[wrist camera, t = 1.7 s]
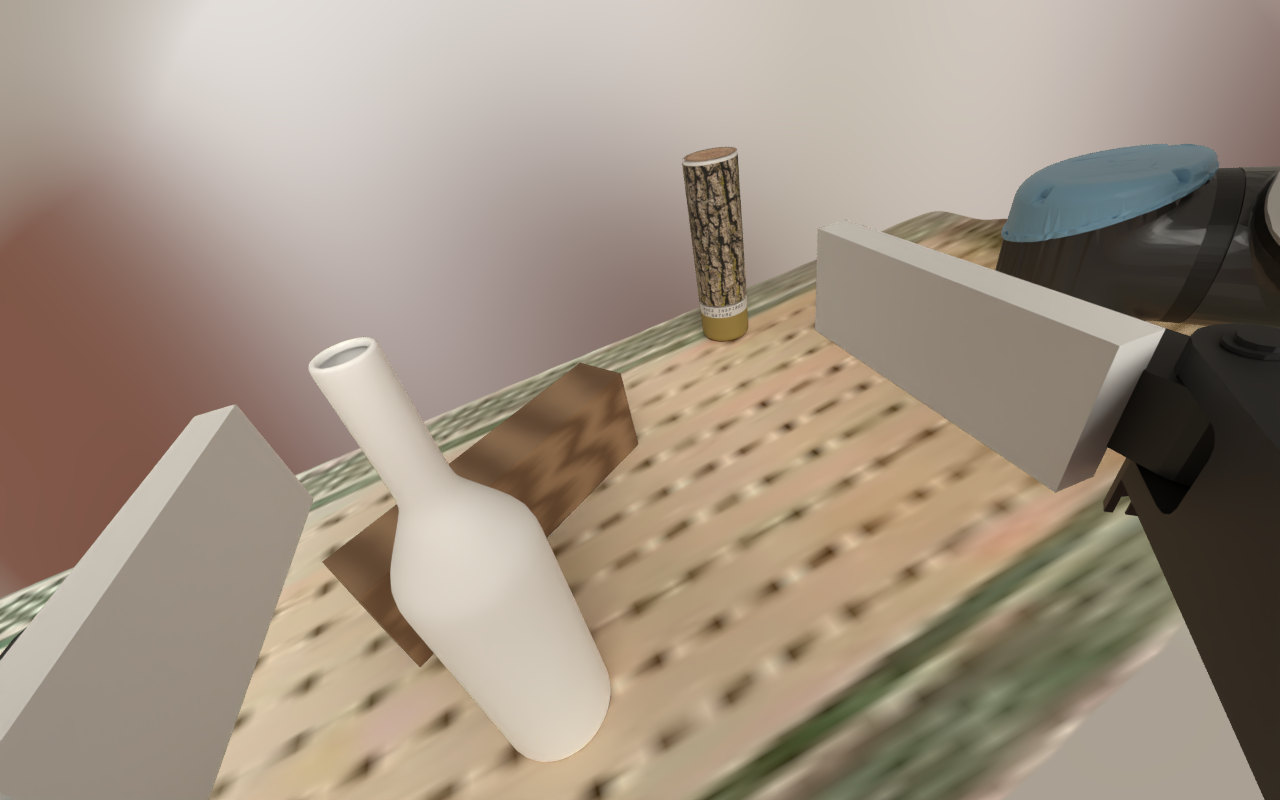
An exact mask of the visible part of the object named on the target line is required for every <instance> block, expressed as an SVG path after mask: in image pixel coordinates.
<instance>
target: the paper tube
mask: <svg viewBox="0 0 1280 800" xmlns="http://www.w3.org/2000/svg"><path fill="white" fill-rule="evenodd" d="M682 160H683V163H682V165H683V173H684V181H685V189H686V197H687V205H688V212H689V221H690V229H691V237H692V245H693V253H694V262H695V269H696V276H697V277H696V278H697V286H698V293H699V302H700V310H701V316H702V324H703V331H704V334H705V335H706V336H707V337H708V338H710V339H712V340H715V341H730V340H734V339H737V338H739V337H741V336H742V335H744V334H745V332H746V331H747V329H748V313H747V295H746V279H745V264H744V247H743V232H742V217H741V200H740V185H739V169H738V154H737V149H736V148H734V147H718V148H712V149H706V150H701V151H697V152H694V153H691V154H689V155H686V156H685V157H683V158H682Z"/></svg>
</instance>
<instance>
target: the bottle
mask: <svg viewBox="0 0 1280 800" xmlns="http://www.w3.org/2000/svg"><path fill="white" fill-rule="evenodd" d="M308 369H309V372H310V374H311V376H312V378H313V379H314V381H315V382H316V384H317V385H318V386H319V388H320V389H321V391H322V392H323V394H324V395H325V397H326V398H327V400H328V401H329V402H330V404H331V405H332V407H333V408H334V410H335V411H336V413H337V414H338V416H339V417H340V418H341V420H342V421H343V423H344V424H345V426H346V427H347V429H348V430H349V432H350V433H351V434H352V436H353V437H354V439H355V440H356V442H357V443H358V445H359V446H360V448H361V449H362V451H363V452H364V454H365V455H366V456H367V458H368V459H369V461H370V462H371V464H372V465H373V467H374V468H375V470H376V471H377V473H378V474H379V476H380V477H381V479H382V480H383V482H384V483H385V485H386V486H387V488H388V489H389V491H390V493H391V494H392V496H393V498H394V499H395V501H396V503H397V505H398V508H399V515H398V523H397V529H396V535H395V541H394V547H393V553H392V560H391V570H390V579H391V592H392V595H393V597H394V600H395V602H396V605H397V607H398V609H399V611H400V613H401V614H402V615H403V617H404V618H405V619H406V621H407V622H408V623H409V624H410V625H411V627H412V628H413V629H414V630H415V631H416V633H417V634H418V635H419V636H420V637H421V638H422V640H423V641H424V642H425V643H426V644H427V646H428V647H429V648H430V649H431V650H432V651H433V653H434V654H435V655H436V656H437V657H438V658H439V660H440V661H441V662H442V663H443V664H444V666H445V667H446V668H447V669H448V670H449V671H450V673H451V674H452V675H453V676H454V677H455V679H456V680H457V681H458V682H459V683H460V684H461V686H462V687H463V688H464V689H465V690H466V691H467V693H468V694H469V695H470V696H471V697H472V699H473V700H474V701H475V702H476V703H477V704H478V706H479V707H480V708H481V709H482V710H483V711H484V713H485V714H486V715H487V716H488V717H489V719H490V720H491V721H492V722H493V723H494V724H495V726H496V727H497V728H498V729H499V730H500V732H501V733H502V734H503V735H504V736H505V737H506V739H507V740H508V741H509V742H510V743H511V744H512V745H513V747H514V748H515V749H516V750H517V751H518V752H519V753H521V754H522V755H524V756H525V757H527V758H529V759H532V760H535V761H540V762H552V761H558V760H562V759H564V758H567V757H569V756H571V755H573V754H574V753H576V752H578V751H579V750H581V749H582V748H583V747H584V746H585V745H586V744H587V743H588V742H590V741H591V739H592V738H593V737H594V735H595V734H596V733H597V731H598V730H599V728H600V726H601V724H602V723H603V721H604V719H605V716H606V713H607V710H608V707H609V701H610V695H611V690H610V679H609V675H608V671H607V669H606V666H605V664H604V662H603V660H602V657H601V655H600V653H599V651H598V649H597V646H596V644H595V642H594V640H593V638H592V636H591V633H590V631H589V629H588V627H587V625H586V623H585V620H584V618H583V616H582V614H581V612H580V610H579V607H578V605H577V603H576V601H575V599H574V597H573V594H572V592H571V590H570V588H569V586H568V584H567V581H566V579H565V577H564V575H563V573H562V571H561V568H560V566H559V564H558V562H557V560H556V558H555V555H554V553H553V551H552V549H551V547H550V545H549V542H548V540H547V538H546V536H545V534H544V532H543V529H542V527H541V526H540V524H539V522H538V520H537V518H536V517H535V516H534V514H533V513H532V512H531V511H530V510H529V508H528V507H527V506H526V505H525V504H524V503H522V502H521V501H519V500H518V499H516V498H514V497H513V496H511V495H508V494H506V493H504V492H501V491H499V490H496V489H493V488H490V487H488V486H485V485H482V484H479V483H476V482H473V481H470V480H467V479H465V478H462V477H460V476H458V475H457V474H455V472H454V471H453V470H452V469H451V468H450V466H449V464H448V463H447V461H446V460H445V458H444V456H443V455H442V453H441V451H440V450H439V448H438V446H437V445H436V443H435V441H434V440H433V438H432V436H431V434H430V433H429V431H428V429H427V427H426V426H425V424H424V422H423V421H422V419H421V417H420V415H419V414H418V412H417V411H416V408H415V407H414V405H413V403H412V401H411V400H410V398H409V396H408V394H407V393H406V391H405V389H404V387H403V386H402V384H401V382H400V380H399V378H398V377H397V375H396V374H395V371H394V370H393V368H392V366H391V364H390V363H389V361H388V359H387V357H386V356H385V354H384V352H383V350H382V349H381V347H380V346H379V344H378V343H377V341H376V340H374V339H372V338H368V337H361V338H355V339H350V340H347V341H343V342H341V343H338V344H336V345H333V346H331V347H329V348H327V349H326V350H324V351H322V352H321V353H319V354H318V355H317V356H316V357H314V358H313V359H312V360H311V362H310V363H309V367H308Z"/></svg>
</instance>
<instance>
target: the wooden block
mask: <svg viewBox="0 0 1280 800" xmlns="http://www.w3.org/2000/svg"><path fill="white" fill-rule="evenodd" d="M637 445H638V441H637V437H636V433H635V429H634V425H633V421H632V417H631V413H630V409H629V405H628V401H627V397H626V393H625V389H624V385H623V381H622V377H621V374H620V373H616V372H613V371H609V370H605V369H602V368H598V367H594V366H590V365H587V364H583V363H579V364H578V365H577V366H575V367H574V368H573V369H571V370H570V371H569V372H567V373H566V374H565V375H564V376H562V377H561V378H560V379H558V380H557V381H556V382H555V383H553V384H552V385H551V386H549V387H548V388H547V389H545V390H544V391H543V392H542V393H540V394H539V395H538V396H536V397H535V398H534V399H533V400H531V401H530V402H529V403H527V404H526V405H525V406H523V407H522V408H521V409H520V410H518V411H517V412H516V413H514V414H513V415H512V416H511V417H509V418H508V419H507V420H505V421H504V422H503V423H501V424H500V425H499V426H498V427H496V428H495V429H494V430H492V431H491V432H490V433H489V434H487V435H486V436H485V437H483V438H482V439H481V440H479V441H478V442H477V443H476V444H474V445H473V446H472V447H470V448H469V449H468V450H467V451H465V452H464V453H463V454H461V455H460V456H459V457H457V458H456V459H455V460H454V461H452V462H451V463H450V464H449V466H450V468H451V469H452V470H453V471H454V472H455V474H457V475H458V476H460V477H462V478H465V479H467V480H470V481H473V482H476V483H479V484H482V485H485V486H488V487H490V488H493V489H496V490H499V491H501V492H504V493H506V494H508V495H511V496H513V497H514V498H516V499H518V500H519V501H521V502H522V503H524V504H525V505H526V506H527V507H528V508H529V510H530V511H531V512H532V513H533V514H534V516H535V517H536V518H537V520H538V522H539V524H540V526H541V527H542V529H543V532H544V534H545V536H546V538H547V537H548V536H549V535H550V534H551V533H552V532H553V531H554V530H555V529H556V528H557V527H558V526H559V525H560V524H561V523H562V522H563V521H564V520H565V518H566V517H567V516H568V515H569V514H570V513H571V512H572V511H573V510H574V509H575V508H576V507H577V506H578V505H579V504H580V503H581V502H582V501H583V500H584V499H585V498H586V497H587V496H588V495H589V494H590V493H591V492H592V491H593V490H594V489H595V488H596V487H597V486H598V485H599V484H600V483H601V482H602V481H603V480H604V479H605V478H606V477H607V476H608V475H609V473H610V472H611V471H612V470H613V469H614V468H615V467H616V466H617V465H618V464H619V463H620V462H621V461H622V460H623V459H624V458H625V457H626V456H627V455H628V454H629V453H630V452H631V451H632V450H633V449H634V448H635V447H636V446H637ZM398 515H399V508H398V505H395V506H394V507H393V508H391V509H390V510H389V511H388V512H386V513H385V514H384V515H382V516H381V517H380V518H379V519H377V520H376V521H375V522H373V523H372V524H371V525H369V526H368V527H367V528H366V529H364V530H363V531H362V532H360V533H359V534H358V535H357V536H355V537H354V538H353V539H351V540H350V541H349V542H347V543H346V544H345V545H344V546H342V547H341V548H340V549H338V550H337V551H336V552H335V553H333V554H332V555H331V556H329V557H328V558H327V559H325V560H324V561H323V563H324V564H325V566H326V567H327V568H328V569H329V570H330V571H331V572H332V573H333V574H334V575H335V576H336V578H337V579H338V580H339V581H340V582H341V583H342V584H343V585H344V586H345V587H346V588H347V590H348V591H349V592H350V593H351V594H352V595H353V596H354V597H355V598H356V599H357V601H358V602H359V603H360V604H361V605H362V606H363V607H364V608H365V609H366V610H367V611H368V613H369V614H370V615H371V616H372V617H373V618H374V619H375V620H376V621H377V622H378V623H379V625H380V626H381V627H382V628H383V629H384V630H385V631H386V632H387V633H388V634H389V635H390V636H391V637H392V638H393V639H394V640H395V641H396V642H397V644H398V645H399V646H400V647H401V648H402V649H403V650H404V651H405V652H406V653H407V654H408V655H409V656H410V657H411V658H412V659H413V660H414V661H415V662H416V663H417V664H418V665H419V666H420V667H421V666H422V665H423V664H424V663H425V662H426V661H427V660H428V659H429V658H430V657H431V656H432V655H433V654H434V653H433V651H432V650H431V649H430V648H429V647H428V646H427V644H426V643H425V642H424V641H423V640H422V638H421V637H420V636H419V635H418V634H417V633H416V631H415V630H414V629H413V628H412V627H411V625H410V624H409V623H408V622H407V621H406V619H405V618H404V617H403V615H402V614H401V613H400V611H399V609H398V607H397V605H396V602H395V600H394V597H393V595H392V592H391V579H390V570H391V560H392V553H393V547H394V541H395V535H396V529H397V523H398Z"/></svg>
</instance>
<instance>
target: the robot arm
mask: <svg viewBox="0 0 1280 800" xmlns="http://www.w3.org/2000/svg"><path fill="white" fill-rule="evenodd" d="M1001 236H1002V237H1003V242H1002V246H1001V250H1000V254H999V258H998V262H997V266H996V269H995V270H992V269H989V268H986V267H983V266H980V265H977V264H975V263H972V262H969V261H966V260H963V259H960V258H957V257H954V256H951V255H948V254H945V253H942V252H939V251H936V250H933V249H930V248H927V247H924V246H922V245H919V244H916V243H913V242H910V241H907V240H904V239H901V238H898V237H895V236H892V235H889V234H886V233H883V232H880V231H877V230H874V229H871V228H868V227H865V226H863V225H859V224H857V223H853V222H851V221H848V220H844V221H841V222H837V223H834V224H831V225H827V226H824V227H821V228H818V241H817V243H818V245H817V279H816V317H815V330H816V331H817V332H819V333H820V334H822V335H823V336H825V337H826V338H828V339H829V340H831V341H832V342H834V343H835V344H836V345H838V346H839V347H841V348H842V349H844V350H845V351H847V352H848V353H850V354H851V355H853V356H854V357H856V358H857V359H859V360H860V361H862V362H863V363H865V364H866V365H868V366H869V367H871V368H872V369H873V370H875V371H876V372H878V373H879V374H881V375H882V376H884V377H885V378H887V379H888V380H890V381H891V382H893V383H894V384H896V385H897V386H899V387H900V388H902V389H903V390H905V391H906V392H907V393H909V394H910V395H912V396H913V397H915V398H916V399H918V400H919V401H921V402H922V403H924V404H925V405H927V406H928V407H930V408H931V409H933V410H934V411H936V412H937V413H939V414H940V415H942V416H943V417H944V418H946V419H947V420H949V421H950V422H952V423H953V424H955V425H956V426H958V427H959V428H961V429H962V430H964V431H965V432H967V433H968V434H970V435H971V436H973V437H974V438H976V439H977V440H978V441H980V442H981V443H983V444H984V445H986V446H987V447H989V448H990V449H992V450H993V451H995V452H996V453H998V454H999V455H1001V456H1002V457H1004V458H1005V459H1007V460H1008V461H1010V462H1011V463H1013V464H1014V465H1015V466H1017V467H1018V468H1020V469H1021V470H1023V471H1024V472H1026V473H1027V474H1029V475H1030V476H1032V477H1033V478H1035V479H1036V480H1038V481H1039V482H1041V483H1042V484H1044V485H1045V486H1047V487H1048V488H1049V489H1051V490H1052V491H1054V492H1055V493H1056V492H1058V491H1060V490H1063V489H1065V488H1067V487H1070V486H1072V485H1074V484H1077V483H1079V482H1081V481H1084V480H1086V479H1088V478H1091V477H1093V476H1094V474H1095V472H1096V470H1097V468H1098V466H1099V464H1100V462H1101V460H1102V458H1103V456H1104V454H1105V452H1106V450H1107V447H1108V448H1110V449H1112V450H1114V451H1116V452H1118V453H1119V454H1121V455H1123V456H1125V457H1126V459H1125V461H1124V463H1123V465H1122V467H1121V469H1120V471H1119V473H1118V474H1117V476H1116V478H1115V480H1114V482H1113V484H1112V486H1111V488H1110V490H1109V492H1108V493H1107V495H1106V497H1105V499H1104V501H1103V505H1104V511H1105V512H1112V513H1113V511H1114V509H1115V507H1116V505H1117V504H1118V502H1119V500H1120V498H1121V497H1123V496H1129V497H1130V500H1131V503H1130V504H1129V506H1128V508H1127V510H1126V511H1125V514H1127V515H1134V516H1138V518H1139V520H1140V522H1141V524H1142V526H1143V529H1144V531H1145V533H1146V535H1147V538H1148V540H1149V542H1150V544H1151V547H1152V549H1153V551H1154V553H1155V556H1156V558H1157V560H1158V562H1159V565H1160V567H1161V569H1162V571H1163V573H1164V576H1165V578H1166V580H1167V582H1168V585H1169V587H1170V589H1171V591H1172V594H1173V596H1174V598H1175V600H1176V603H1177V605H1178V607H1179V609H1180V611H1181V614H1182V616H1183V618H1184V620H1185V623H1186V625H1187V627H1188V629H1189V631H1190V634H1191V636H1192V638H1193V640H1194V643H1195V645H1196V647H1197V649H1198V652H1199V654H1200V656H1201V658H1202V660H1203V663H1204V665H1205V667H1206V669H1207V672H1208V674H1209V676H1210V679H1211V681H1212V683H1213V685H1214V687H1215V690H1216V692H1217V694H1218V696H1219V699H1220V701H1221V703H1222V705H1223V707H1224V710H1225V712H1226V714H1227V717H1228V719H1229V721H1230V723H1231V725H1232V728H1233V730H1234V732H1235V734H1236V737H1237V739H1238V741H1239V743H1240V746H1241V748H1242V750H1243V752H1244V755H1245V757H1246V759H1247V761H1248V763H1249V766H1250V768H1251V770H1252V772H1253V775H1254V776H1255V779H1256V781H1257V784H1258V786H1259V788H1260V790H1261V793H1262V795H1263V797H1264V799H1265V800H1280V166H1271V167H1270V166H1269V167H1239V168H1219V161H1218V160H1217V154H1216V152H1215V151H1214V150H1213V149H1211V148H1208V147H1205V146H1201V145H1193V144H1180V145H1171V146H1169V145H1167V144H1153V145H1141V146H1132V147H1124V148H1117V149H1111V150H1106V151H1100V152H1096V153H1090V154H1086V155H1082V156H1078V157H1074V158H1070V159H1067V160H1064V161H1061V162H1059V163H1055V164H1053V165H1050V166H1048V167H1046V168H1044V169H1042V170H1040V171H1038V172H1036V173H1034V174H1033V175H1032V176H1030V177H1029V178H1028V179H1026V180H1025V181H1024V182H1023V184H1022V185H1021V186H1020V187H1019V189H1018V190H1017V193H1016V194H1015V197H1014V200H1013V203H1012V207H1011V210H1010V213H1009V216H1008V220H1007V222H1006V223H1005V225H1004V226H1003V228H1002V233H1001ZM1146 321H1161V322H1172V323H1184V324H1194V325H1204V326H1207V327H1203V328H1200V329H1197V330H1196V331H1195V332H1194V333H1193V334H1192V335H1191V336H1187V335H1184V334H1181V333H1178V332H1175V331H1172V330H1169V329H1166V328H1163V327H1160V326H1157V325H1154V324H1152V323H1149V322H1146ZM312 502H313V497H312V496H311V495H310V494H309V492H308V491H307V490H306V489H305V488H304V486H303V485H302V484H301V483H300V481H299V480H298V479H297V478H296V477H295V475H294V474H293V473H292V472H291V471H290V470H289V468H288V467H287V466H286V464H285V463H284V462H283V461H282V460H281V458H280V457H279V456H278V455H277V454H276V452H275V451H274V450H273V449H272V447H271V446H270V445H269V444H268V443H267V441H266V440H265V439H264V438H263V437H262V435H261V434H260V433H259V432H258V430H257V429H256V428H255V427H254V426H253V424H252V423H251V422H250V421H249V420H248V418H247V417H246V416H245V415H244V413H243V412H242V411H241V410H240V408H239V407H238V406H237V405H236V404H235V405H231V406H228V407H225V408H221V409H218V410H214V411H211V412H208V413H205V414H201V415H198V416H195V417H194V418H193V419H192V421H191V422H190V423H189V424H188V426H187V427H186V428H185V429H184V431H183V432H182V433H181V434H180V436H179V437H178V438H177V439H176V441H175V442H174V443H173V444H172V446H171V447H170V448H169V449H168V451H167V452H166V453H165V454H164V456H163V457H162V458H161V459H160V461H159V462H158V463H157V464H156V466H155V467H154V468H153V470H152V471H151V472H150V473H149V475H148V476H147V477H146V478H145V480H144V481H143V482H142V483H141V485H140V486H139V487H138V488H137V490H136V491H135V492H134V493H133V495H132V496H131V497H130V498H129V500H128V501H127V502H126V504H125V505H124V506H123V507H122V508H121V510H120V511H119V512H118V513H117V515H116V516H115V517H114V519H113V520H112V521H111V522H110V523H109V525H108V526H107V527H106V529H105V530H104V531H103V532H102V534H101V535H100V536H99V537H98V539H97V540H96V541H95V542H94V544H93V545H92V546H91V547H90V549H89V550H88V551H87V552H86V554H85V555H84V556H83V557H82V559H81V560H80V561H79V562H78V564H77V565H76V566H75V567H74V569H73V570H72V571H71V572H70V574H69V575H68V576H67V577H66V579H65V580H64V581H63V583H62V584H61V585H60V586H59V588H58V589H57V590H56V591H55V593H54V594H53V595H52V596H51V598H50V599H49V600H48V601H47V603H46V604H45V605H44V606H43V608H42V609H41V610H40V611H39V613H38V614H37V615H36V616H35V618H34V619H33V620H32V621H31V623H30V624H29V625H28V626H27V627H26V628H25V629H24V630H23V631H22V632H21V633H19V634H18V635H17V636H16V637H15V638H14V639H13V640H12V641H11V643H10V644H9V645H8V646H7V648H6V649H5V650H4V651H3V653H2V654H1V655H0V800H209V798H210V795H211V792H212V789H213V786H214V783H215V780H216V778H217V775H218V772H219V769H220V766H221V763H222V760H223V757H224V755H225V752H226V749H227V746H228V743H229V740H230V737H231V734H232V732H233V729H234V726H235V723H236V720H237V717H238V714H239V711H240V709H241V706H242V703H243V700H244V697H245V694H246V691H247V688H248V686H249V683H250V680H251V677H252V674H253V671H254V668H255V665H256V663H257V660H258V657H259V654H260V651H261V648H262V645H263V642H264V640H265V637H266V634H267V631H268V628H269V625H270V622H271V620H272V617H273V614H274V611H275V608H276V605H277V602H278V599H279V597H280V594H281V591H282V588H283V585H284V582H285V579H286V576H287V574H288V571H289V568H290V565H291V562H292V559H293V556H294V553H295V551H296V548H297V545H298V542H299V539H300V536H301V533H302V530H303V528H304V525H305V522H306V519H307V516H308V513H309V510H310V507H311V505H312Z"/></svg>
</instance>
